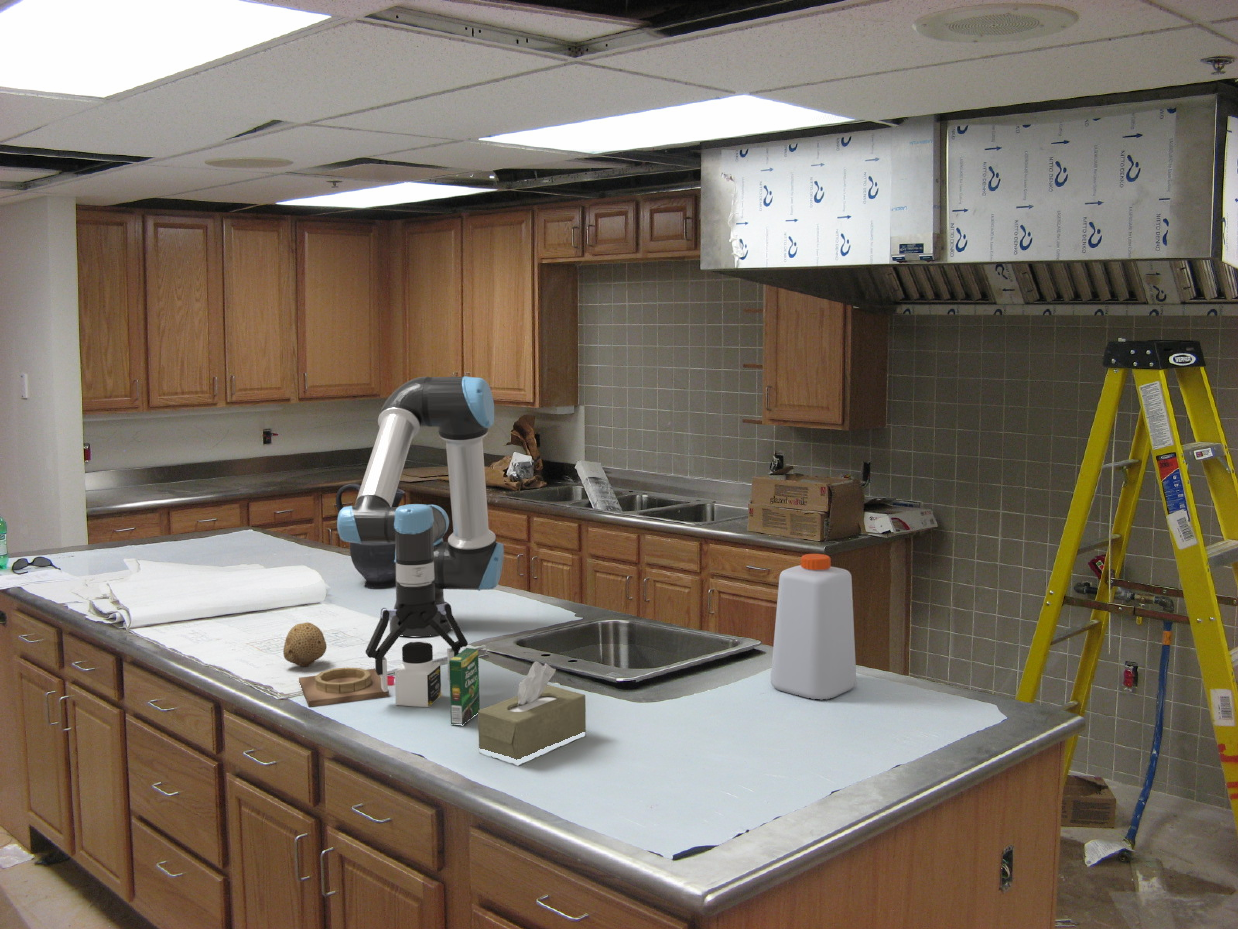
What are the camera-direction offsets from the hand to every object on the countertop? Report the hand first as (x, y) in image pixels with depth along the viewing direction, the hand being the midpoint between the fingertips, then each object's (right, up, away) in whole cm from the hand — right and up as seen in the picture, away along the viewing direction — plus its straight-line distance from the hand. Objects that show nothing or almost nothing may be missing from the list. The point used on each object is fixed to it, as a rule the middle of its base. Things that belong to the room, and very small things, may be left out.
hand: (418, 685), depth 224 cm
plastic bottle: (+81, -2, +8) cm, 82 cm away
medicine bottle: (0, -3, 0) cm, 3 cm away
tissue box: (+25, -7, -23) cm, 34 cm away
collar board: (-17, -2, +7) cm, 19 cm away
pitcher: (-31, +9, +99) cm, 105 cm away
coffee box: (+11, -5, -10) cm, 16 cm away
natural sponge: (-29, -1, +23) cm, 37 cm away
